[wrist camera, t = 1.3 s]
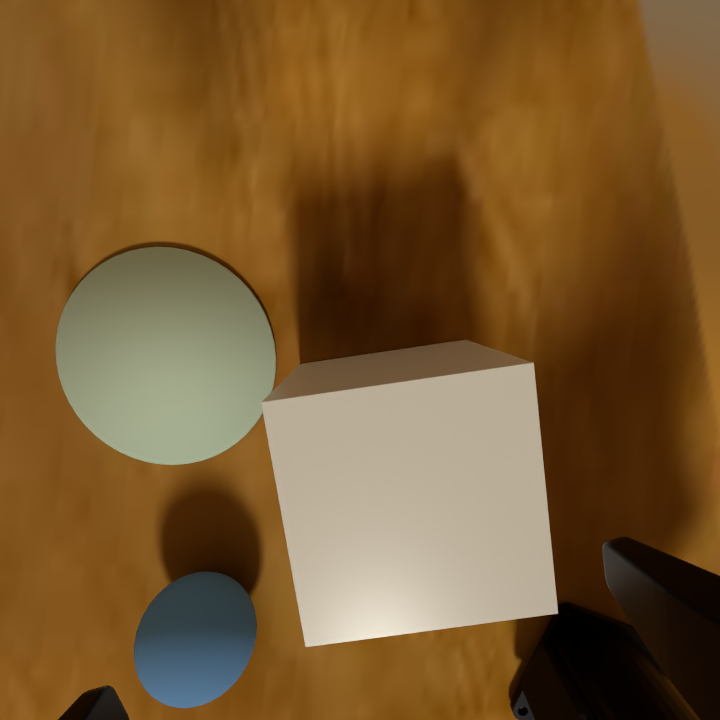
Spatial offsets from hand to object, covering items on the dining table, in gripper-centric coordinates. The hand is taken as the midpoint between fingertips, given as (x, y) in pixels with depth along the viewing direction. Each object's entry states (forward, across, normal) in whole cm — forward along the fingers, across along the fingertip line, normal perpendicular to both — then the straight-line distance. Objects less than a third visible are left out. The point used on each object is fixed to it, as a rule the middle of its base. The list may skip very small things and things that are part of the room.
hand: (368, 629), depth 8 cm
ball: (+10, +8, +8) cm, 15 cm away
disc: (+14, +7, -3) cm, 16 cm away
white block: (+12, -2, +2) cm, 13 cm away
